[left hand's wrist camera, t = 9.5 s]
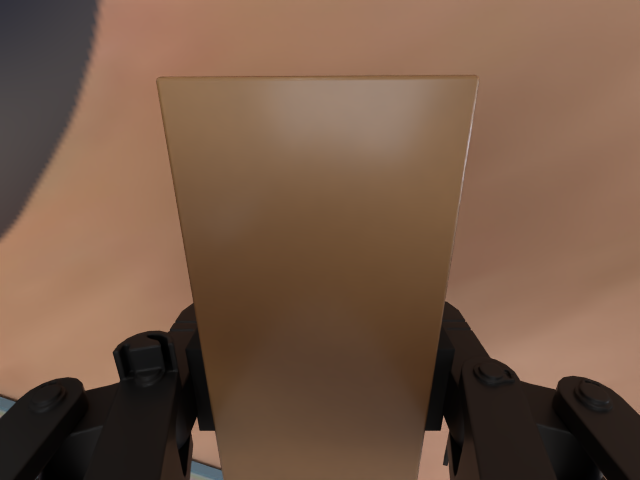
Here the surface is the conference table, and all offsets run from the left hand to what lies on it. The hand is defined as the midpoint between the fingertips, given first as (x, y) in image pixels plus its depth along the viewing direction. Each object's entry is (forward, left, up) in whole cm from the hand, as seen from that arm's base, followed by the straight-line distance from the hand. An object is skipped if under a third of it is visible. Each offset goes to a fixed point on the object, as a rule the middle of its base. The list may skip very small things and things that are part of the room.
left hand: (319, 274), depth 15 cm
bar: (-28, +12, -1) cm, 31 cm away
